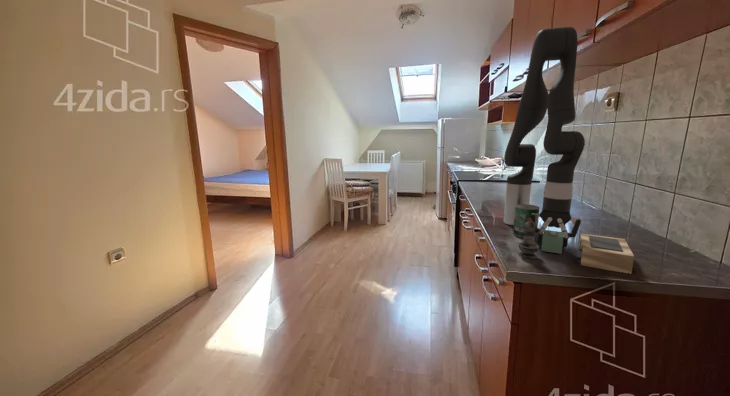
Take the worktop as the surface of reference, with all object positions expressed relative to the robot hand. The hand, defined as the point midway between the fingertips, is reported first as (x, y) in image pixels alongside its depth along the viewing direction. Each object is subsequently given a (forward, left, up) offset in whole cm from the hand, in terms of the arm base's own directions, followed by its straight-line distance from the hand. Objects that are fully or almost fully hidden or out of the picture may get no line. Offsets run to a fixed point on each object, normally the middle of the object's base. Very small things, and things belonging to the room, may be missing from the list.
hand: (551, 246), depth 98 cm
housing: (0, 0, 0) cm, 0 cm away
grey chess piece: (+10, -6, -1) cm, 12 cm away
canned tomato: (-12, -9, -1) cm, 15 cm away
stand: (+2, +13, -1) cm, 13 cm away
